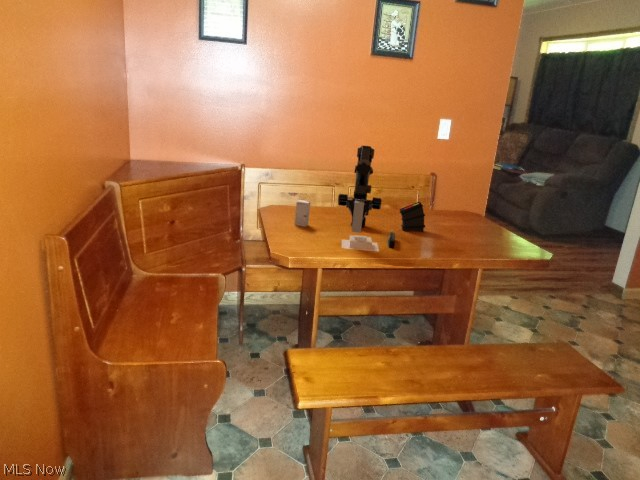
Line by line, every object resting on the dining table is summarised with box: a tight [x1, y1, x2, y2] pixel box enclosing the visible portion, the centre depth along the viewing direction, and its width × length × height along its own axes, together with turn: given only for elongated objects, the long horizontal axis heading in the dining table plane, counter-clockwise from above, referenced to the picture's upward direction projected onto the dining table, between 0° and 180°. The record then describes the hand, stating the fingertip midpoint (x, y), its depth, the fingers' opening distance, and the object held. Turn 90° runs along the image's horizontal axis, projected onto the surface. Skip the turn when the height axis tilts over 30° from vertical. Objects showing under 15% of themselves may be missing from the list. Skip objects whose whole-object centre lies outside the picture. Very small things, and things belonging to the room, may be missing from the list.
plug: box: [351, 200, 364, 233], centre depth 199 cm, size 4×4×13 cm
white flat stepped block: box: [341, 234, 380, 252], centre depth 203 cm, size 16×12×4 cm
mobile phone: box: [387, 231, 396, 249], centre depth 210 cm, size 5×3×15 cm
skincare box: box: [294, 199, 311, 228], centre depth 227 cm, size 6×4×12 cm
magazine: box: [399, 201, 426, 233], centre depth 234 cm, size 4×13×15 cm, turn 95°
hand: (357, 218), depth 198 cm, fingers closed on plug, 4 cm apart
